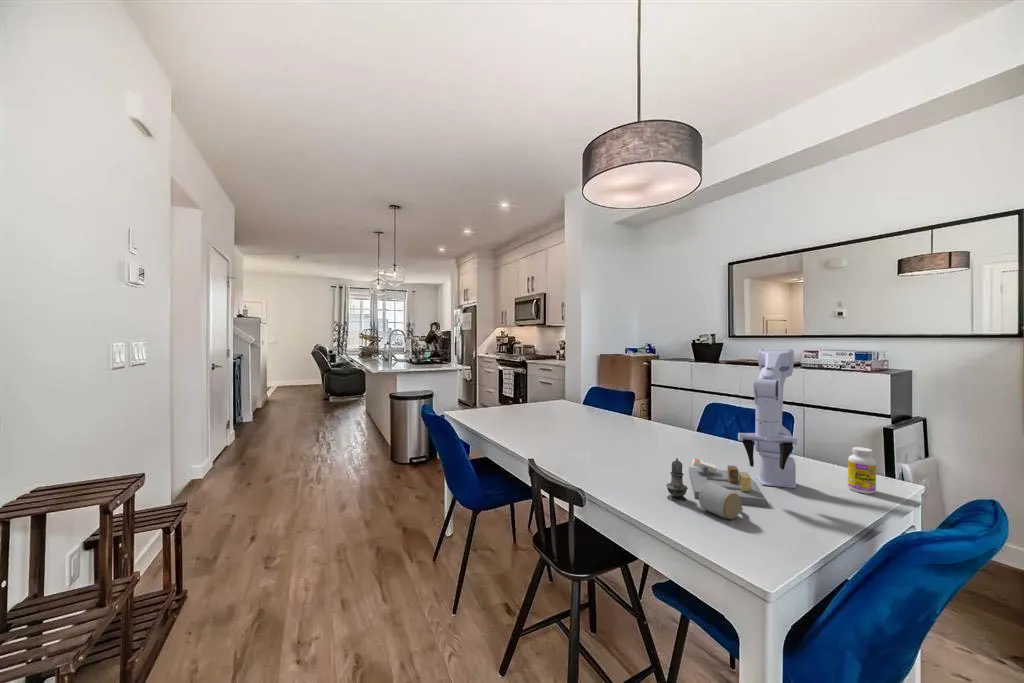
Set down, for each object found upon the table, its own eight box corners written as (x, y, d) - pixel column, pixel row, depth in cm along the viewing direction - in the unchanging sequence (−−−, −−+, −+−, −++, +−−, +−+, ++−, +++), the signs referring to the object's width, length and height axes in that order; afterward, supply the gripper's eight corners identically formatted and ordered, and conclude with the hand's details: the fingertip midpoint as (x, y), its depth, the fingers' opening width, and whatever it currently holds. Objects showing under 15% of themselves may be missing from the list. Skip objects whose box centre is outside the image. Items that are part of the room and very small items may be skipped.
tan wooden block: (747, 487, 125) (747, 473, 125) (750, 491, 121) (750, 478, 121) (738, 486, 126) (738, 472, 126) (741, 490, 122) (741, 477, 122)
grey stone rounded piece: (689, 503, 119) (689, 461, 119) (667, 501, 120) (668, 460, 120) (685, 495, 125) (685, 455, 125) (664, 494, 126) (664, 454, 126)
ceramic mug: (725, 523, 106) (726, 493, 106) (697, 511, 113) (698, 483, 113) (751, 516, 111) (752, 487, 111) (723, 505, 118) (723, 477, 118)
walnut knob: (735, 478, 133) (736, 466, 132) (738, 482, 129) (738, 469, 129) (727, 477, 133) (727, 465, 133) (729, 482, 130) (729, 469, 129)
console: (747, 478, 140) (747, 464, 139) (764, 506, 117) (765, 489, 117) (688, 472, 145) (688, 458, 145) (694, 498, 123) (694, 481, 123)
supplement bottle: (851, 492, 127) (852, 450, 127) (844, 485, 133) (845, 445, 133) (879, 496, 124) (880, 452, 124) (871, 488, 130) (871, 447, 130)
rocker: (713, 469, 141) (715, 464, 141) (715, 473, 136) (717, 468, 136) (692, 462, 143) (693, 457, 143) (693, 466, 138) (694, 461, 138)
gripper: (740, 421, 120) (740, 468, 120) (800, 424, 115) (799, 474, 115) (737, 416, 127) (736, 461, 127) (793, 420, 122) (792, 466, 122)
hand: (766, 467), depth 122 cm, fingers open, 7 cm apart
